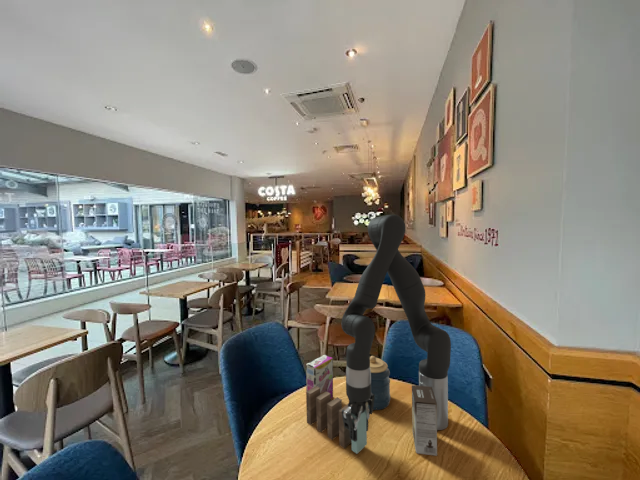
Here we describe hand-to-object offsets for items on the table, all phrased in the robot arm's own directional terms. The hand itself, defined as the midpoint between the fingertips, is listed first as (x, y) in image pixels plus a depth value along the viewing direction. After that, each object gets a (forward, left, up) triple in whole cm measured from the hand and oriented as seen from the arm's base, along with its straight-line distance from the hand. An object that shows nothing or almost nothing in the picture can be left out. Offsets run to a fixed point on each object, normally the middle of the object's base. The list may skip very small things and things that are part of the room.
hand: (359, 434), depth 83 cm
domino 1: (0, -20, -5) cm, 21 cm away
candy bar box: (-9, -26, -5) cm, 28 cm away
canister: (-24, -11, -5) cm, 27 cm away
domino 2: (0, -15, -5) cm, 16 cm away
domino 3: (0, -10, -5) cm, 11 cm away
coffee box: (-16, +13, -5) cm, 21 cm away
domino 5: (0, 0, -4) cm, 4 cm away
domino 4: (0, -5, -5) cm, 7 cm away
